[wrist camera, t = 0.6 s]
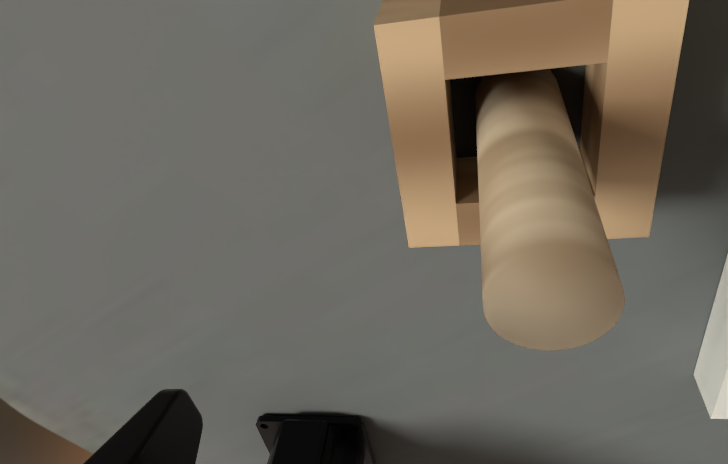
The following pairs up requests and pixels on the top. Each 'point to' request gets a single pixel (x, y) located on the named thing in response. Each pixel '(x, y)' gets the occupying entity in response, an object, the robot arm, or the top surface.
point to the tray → (715, 355)
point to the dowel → (539, 220)
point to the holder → (517, 54)
